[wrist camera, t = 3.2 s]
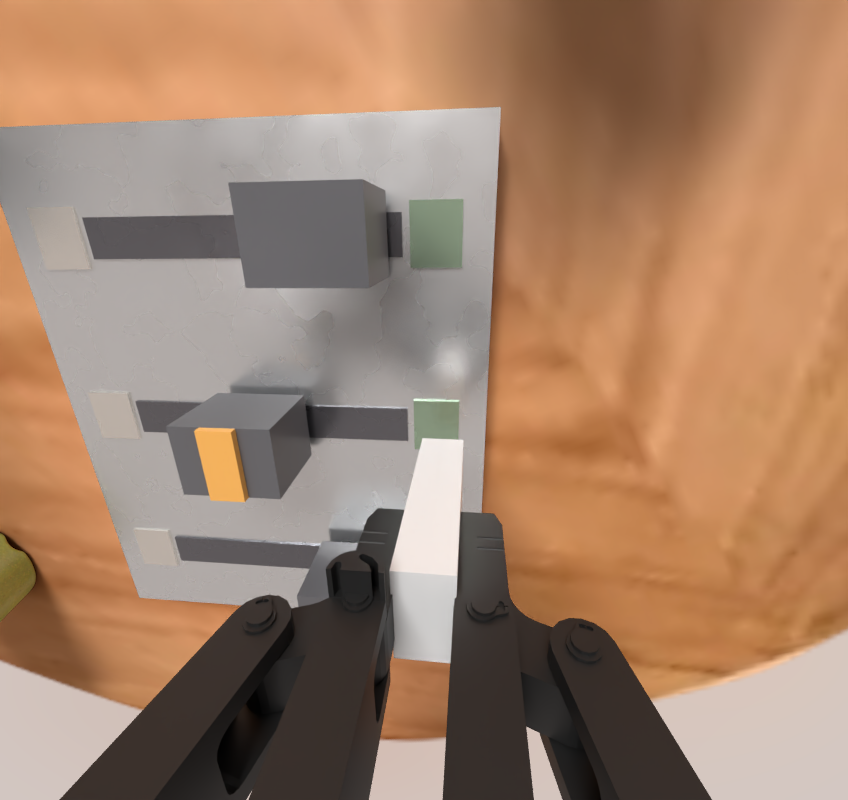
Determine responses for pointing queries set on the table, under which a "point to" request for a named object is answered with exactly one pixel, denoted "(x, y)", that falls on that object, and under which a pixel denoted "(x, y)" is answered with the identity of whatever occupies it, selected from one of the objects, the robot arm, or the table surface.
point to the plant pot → (13, 577)
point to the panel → (257, 323)
